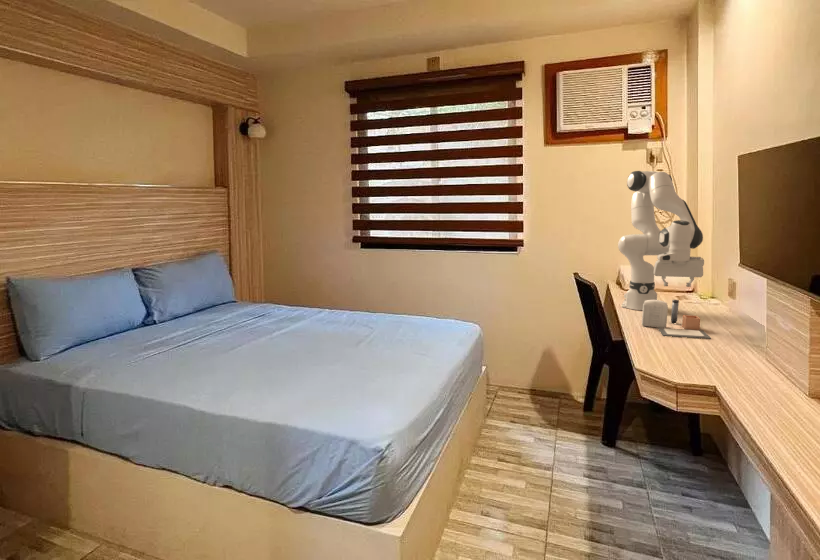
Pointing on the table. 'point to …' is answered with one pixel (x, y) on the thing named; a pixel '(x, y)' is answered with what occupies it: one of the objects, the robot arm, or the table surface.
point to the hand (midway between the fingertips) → (677, 286)
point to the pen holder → (691, 322)
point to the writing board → (684, 333)
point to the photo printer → (655, 313)
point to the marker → (674, 311)
